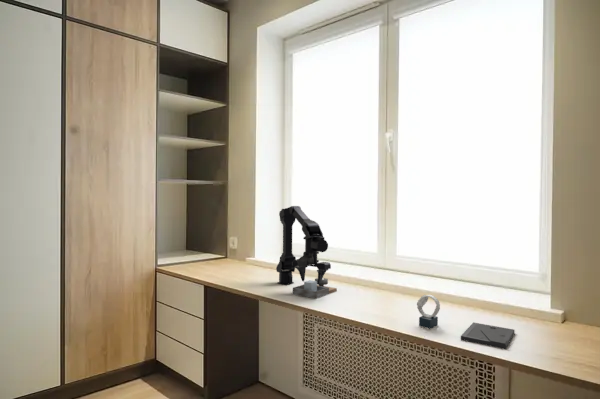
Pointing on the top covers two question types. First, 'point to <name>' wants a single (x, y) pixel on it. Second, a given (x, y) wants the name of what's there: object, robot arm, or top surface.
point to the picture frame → (488, 335)
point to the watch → (426, 319)
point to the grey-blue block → (310, 285)
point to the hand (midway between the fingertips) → (311, 282)
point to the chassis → (319, 293)
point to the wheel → (322, 281)
